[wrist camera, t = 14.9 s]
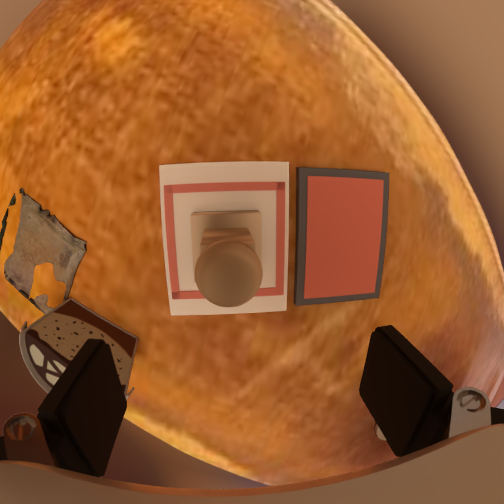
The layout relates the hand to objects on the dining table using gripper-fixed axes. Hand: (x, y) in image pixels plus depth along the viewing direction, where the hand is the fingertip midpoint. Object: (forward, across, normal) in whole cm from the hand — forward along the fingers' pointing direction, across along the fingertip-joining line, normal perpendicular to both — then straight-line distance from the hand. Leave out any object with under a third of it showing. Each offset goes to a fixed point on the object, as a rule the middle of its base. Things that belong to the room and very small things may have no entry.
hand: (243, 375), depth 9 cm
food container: (+20, +16, +10) cm, 28 cm away
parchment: (+20, +24, 0) cm, 31 cm away
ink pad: (+20, -12, -1) cm, 23 cm away
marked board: (+20, 0, -1) cm, 20 cm away
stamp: (+19, 0, 0) cm, 19 cm away
